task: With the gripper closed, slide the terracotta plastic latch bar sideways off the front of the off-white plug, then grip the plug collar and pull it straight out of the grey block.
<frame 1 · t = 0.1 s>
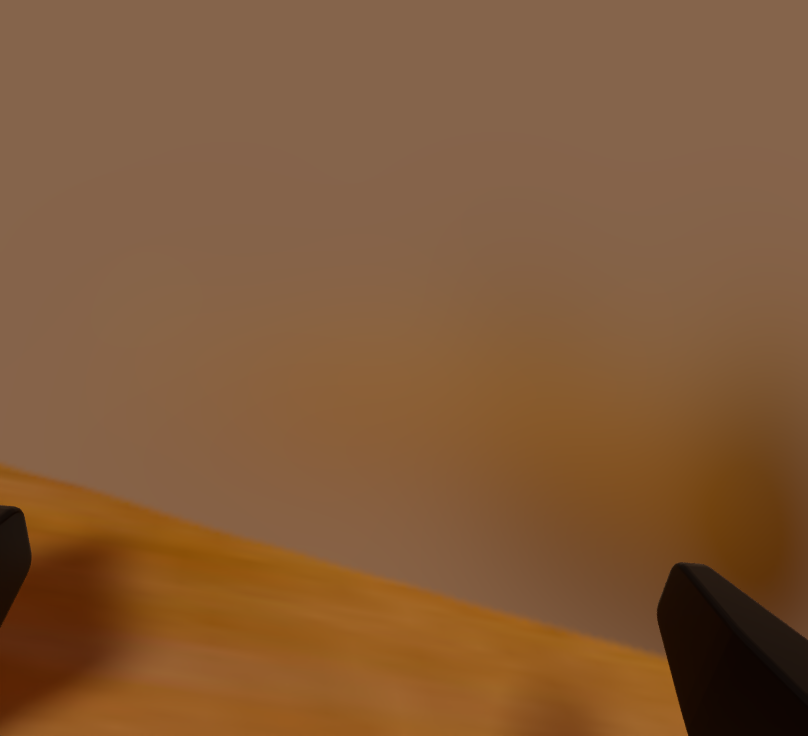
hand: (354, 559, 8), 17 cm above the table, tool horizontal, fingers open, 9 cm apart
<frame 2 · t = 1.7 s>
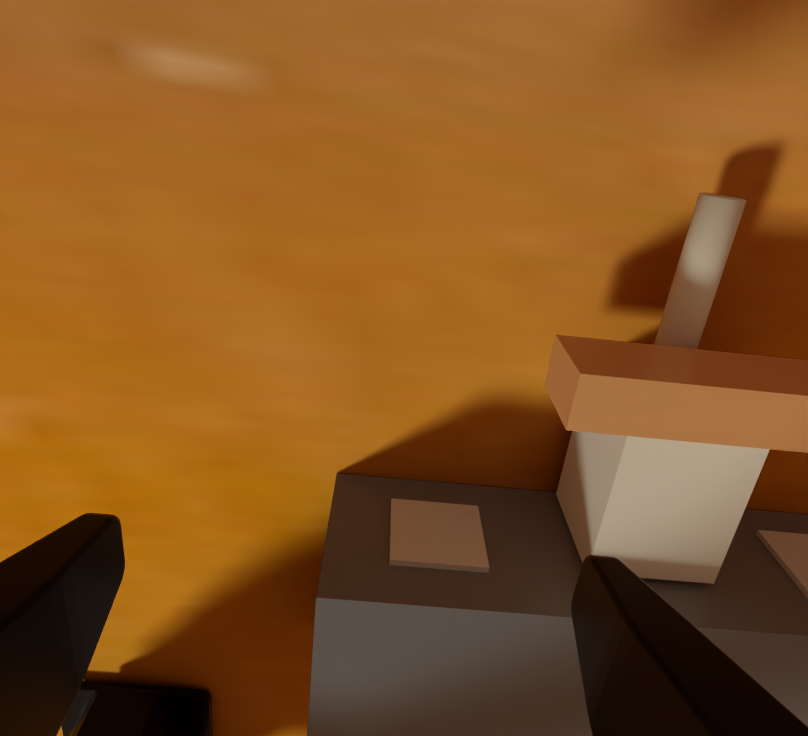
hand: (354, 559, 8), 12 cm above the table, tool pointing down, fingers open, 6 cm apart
grey block: (580, 578, 24), on the table
plug: (676, 389, 18), point 2 cm above the table, slide at 0.0 cm
latch: (705, 394, 17), point 4 cm above the table, slide at 0.0 cm
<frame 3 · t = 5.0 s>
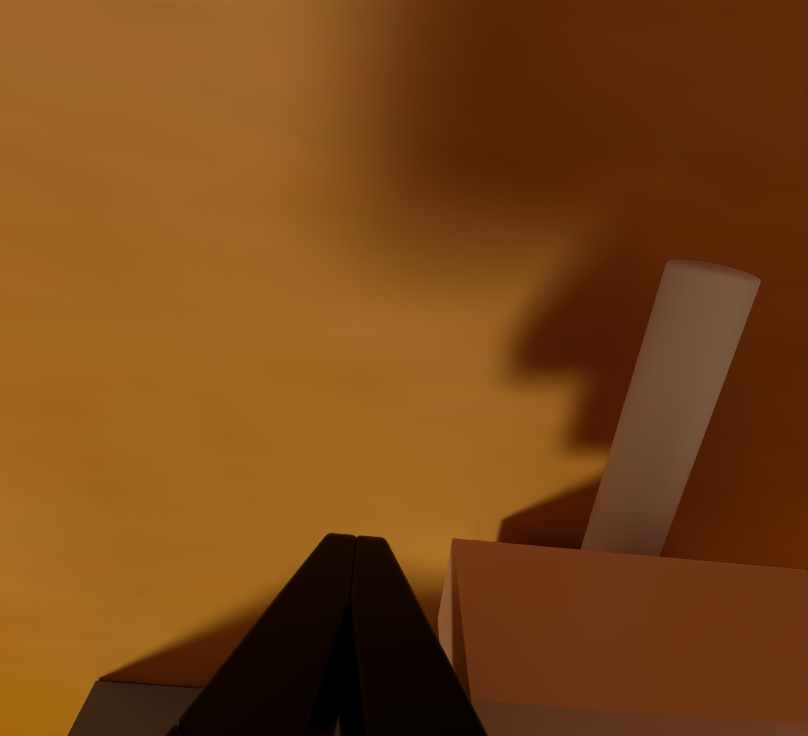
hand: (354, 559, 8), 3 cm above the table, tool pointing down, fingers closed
plug: (625, 614, 10), point 2 cm above the table, slide at 0.0 cm
latch: (742, 674, 8), point 4 cm above the table, slide at 1.0 cm, touching gripper
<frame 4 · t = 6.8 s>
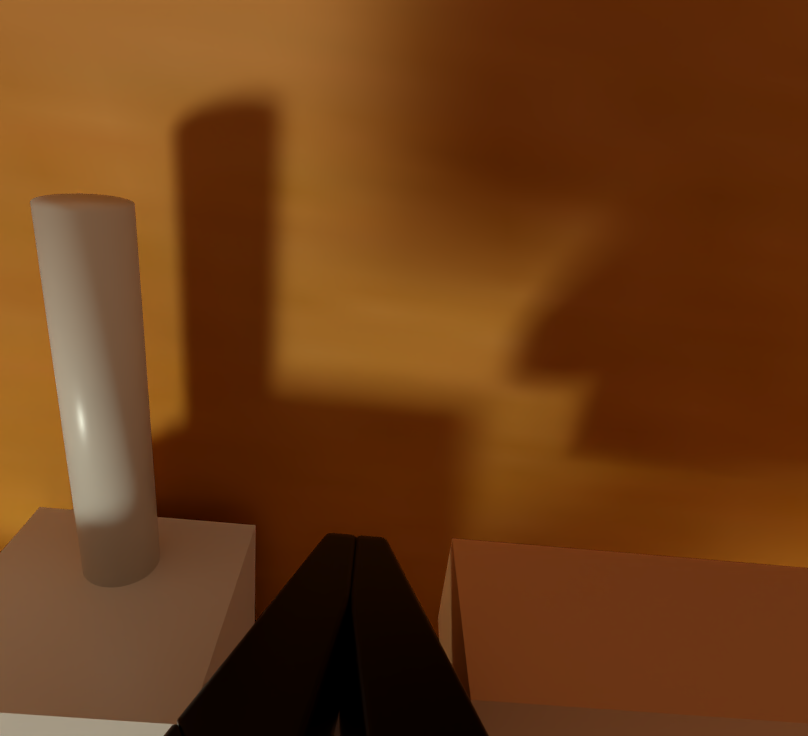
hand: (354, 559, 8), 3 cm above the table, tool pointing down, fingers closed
plug: (97, 572, 9), point 2 cm above the table, slide at 0.0 cm
latch: (742, 673, 8), point 4 cm above the table, slide at 9.3 cm, touching gripper
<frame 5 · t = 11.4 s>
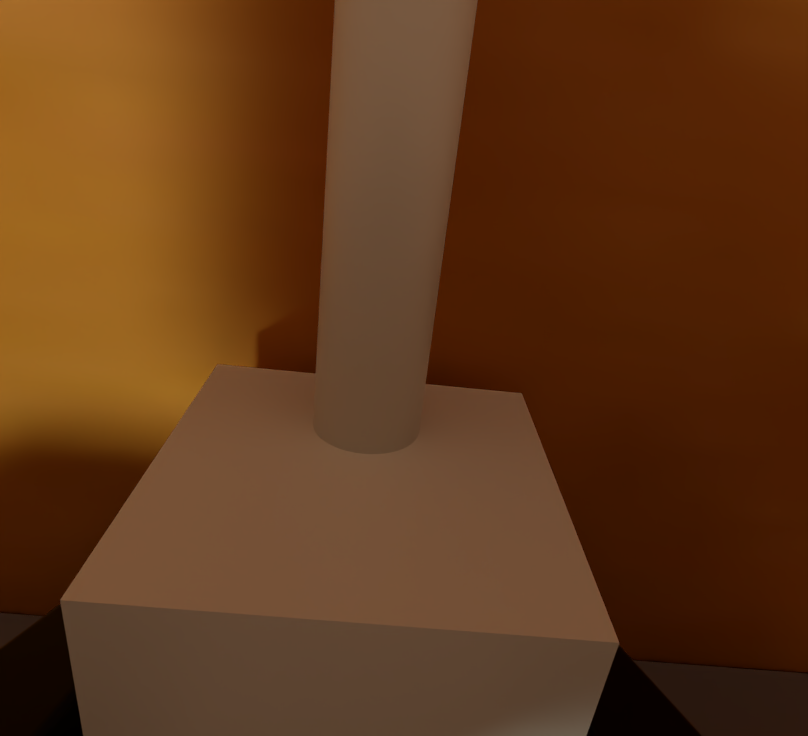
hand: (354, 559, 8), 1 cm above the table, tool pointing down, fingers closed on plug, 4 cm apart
plug: (366, 421, 6), point 2 cm above the table, slide at 0.0 cm, touching gripper
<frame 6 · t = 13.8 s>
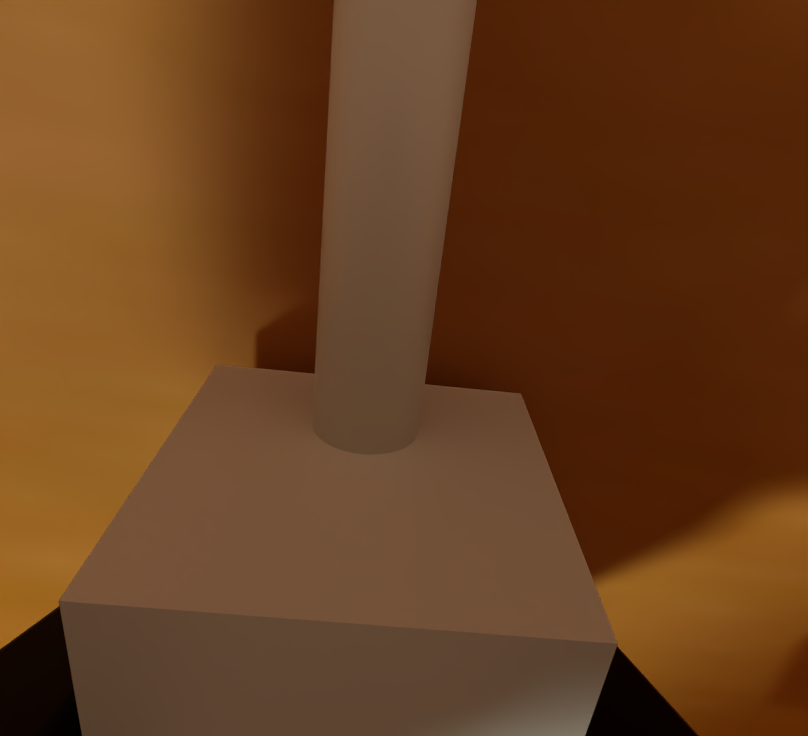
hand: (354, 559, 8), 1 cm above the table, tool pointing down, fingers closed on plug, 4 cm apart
plug: (365, 422, 6), point 2 cm above the table, slide at 7.9 cm, touching gripper
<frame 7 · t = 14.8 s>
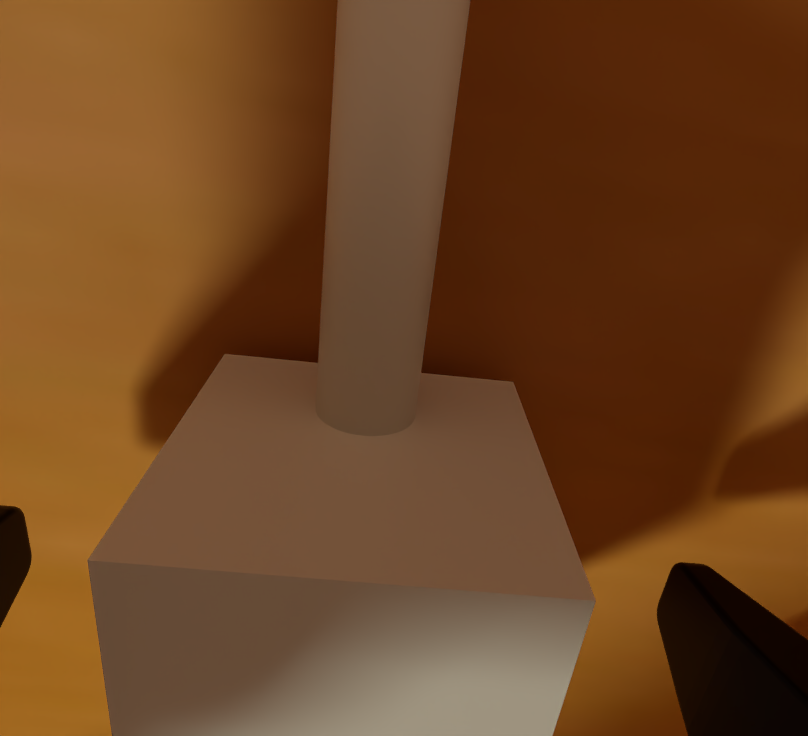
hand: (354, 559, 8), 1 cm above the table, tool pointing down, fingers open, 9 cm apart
plug: (365, 404, 6), point 2 cm above the table, slide at 7.9 cm
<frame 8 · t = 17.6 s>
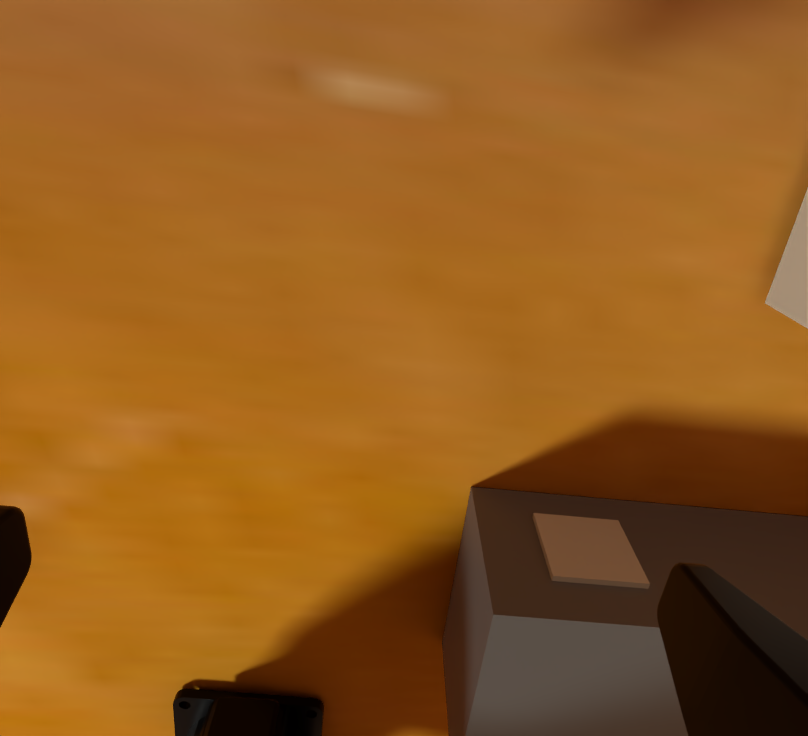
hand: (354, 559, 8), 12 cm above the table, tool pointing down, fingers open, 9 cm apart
grey block: (700, 590, 25), on the table
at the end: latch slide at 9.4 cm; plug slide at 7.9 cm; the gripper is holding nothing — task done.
